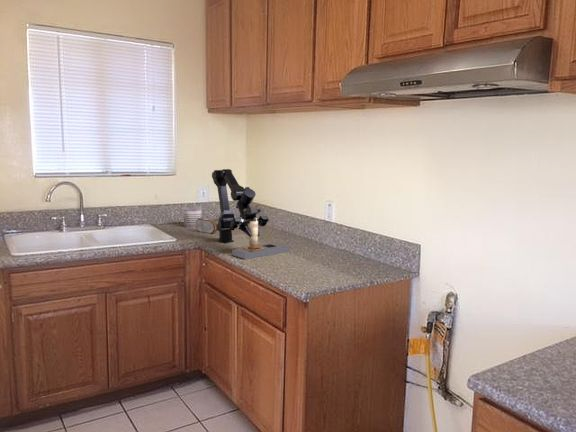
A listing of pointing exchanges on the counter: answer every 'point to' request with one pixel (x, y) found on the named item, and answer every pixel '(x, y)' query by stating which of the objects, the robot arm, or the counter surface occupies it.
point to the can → (191, 216)
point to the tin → (206, 225)
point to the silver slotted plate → (261, 250)
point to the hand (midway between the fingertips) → (255, 236)
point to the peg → (253, 235)
